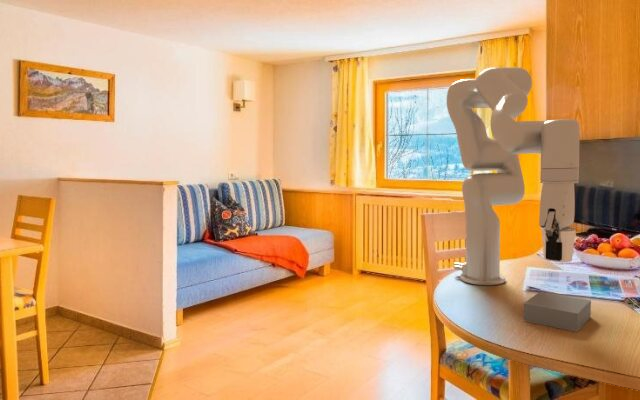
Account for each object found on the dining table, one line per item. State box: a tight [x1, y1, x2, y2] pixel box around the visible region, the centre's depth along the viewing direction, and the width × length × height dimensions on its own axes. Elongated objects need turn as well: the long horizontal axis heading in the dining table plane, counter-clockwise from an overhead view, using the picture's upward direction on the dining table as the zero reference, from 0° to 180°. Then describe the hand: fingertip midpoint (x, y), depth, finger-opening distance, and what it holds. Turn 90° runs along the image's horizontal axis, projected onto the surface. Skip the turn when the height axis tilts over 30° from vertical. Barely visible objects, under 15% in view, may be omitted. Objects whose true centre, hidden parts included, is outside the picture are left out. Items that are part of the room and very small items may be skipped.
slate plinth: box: [522, 291, 592, 333], centre depth 107 cm, size 11×11×4 cm
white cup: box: [541, 226, 576, 263], centre depth 105 cm, size 7×7×7 cm
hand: (557, 256), depth 105 cm, fingers closed on white cup, 5 cm apart
